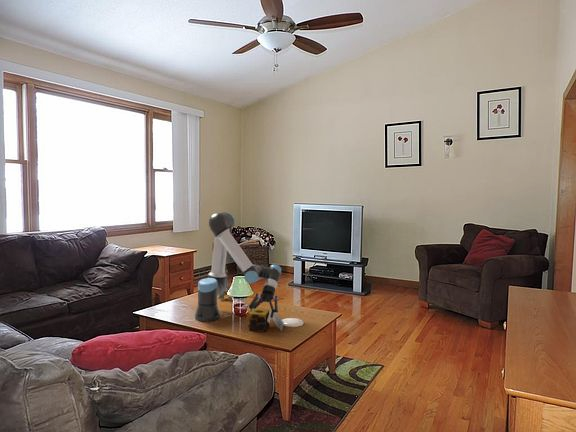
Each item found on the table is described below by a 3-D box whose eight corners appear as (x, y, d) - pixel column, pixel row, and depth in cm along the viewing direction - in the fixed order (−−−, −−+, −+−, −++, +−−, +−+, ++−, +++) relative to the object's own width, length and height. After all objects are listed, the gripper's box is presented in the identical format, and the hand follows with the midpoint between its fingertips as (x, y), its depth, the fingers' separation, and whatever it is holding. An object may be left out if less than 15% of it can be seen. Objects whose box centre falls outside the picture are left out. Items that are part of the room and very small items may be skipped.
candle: (265, 332, 224) (265, 314, 223) (248, 330, 226) (248, 313, 225) (269, 326, 234) (270, 309, 233) (253, 324, 236) (253, 308, 235)
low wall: (280, 330, 227) (280, 322, 227) (273, 320, 244) (273, 312, 244) (282, 330, 227) (282, 321, 227) (275, 320, 245) (275, 312, 244)
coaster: (283, 327, 232) (283, 326, 232) (277, 319, 245) (277, 318, 245) (306, 326, 235) (306, 325, 235) (299, 318, 249) (299, 317, 249)
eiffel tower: (219, 301, 280) (220, 266, 279) (217, 297, 290) (217, 263, 288) (234, 300, 284) (235, 266, 282) (231, 296, 294) (232, 263, 292)
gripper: (288, 293, 242) (279, 326, 229) (254, 289, 250) (243, 321, 236) (286, 286, 237) (276, 320, 223) (250, 282, 245) (239, 315, 231)
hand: (259, 320), depth 230 cm, fingers closed on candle, 10 cm apart
